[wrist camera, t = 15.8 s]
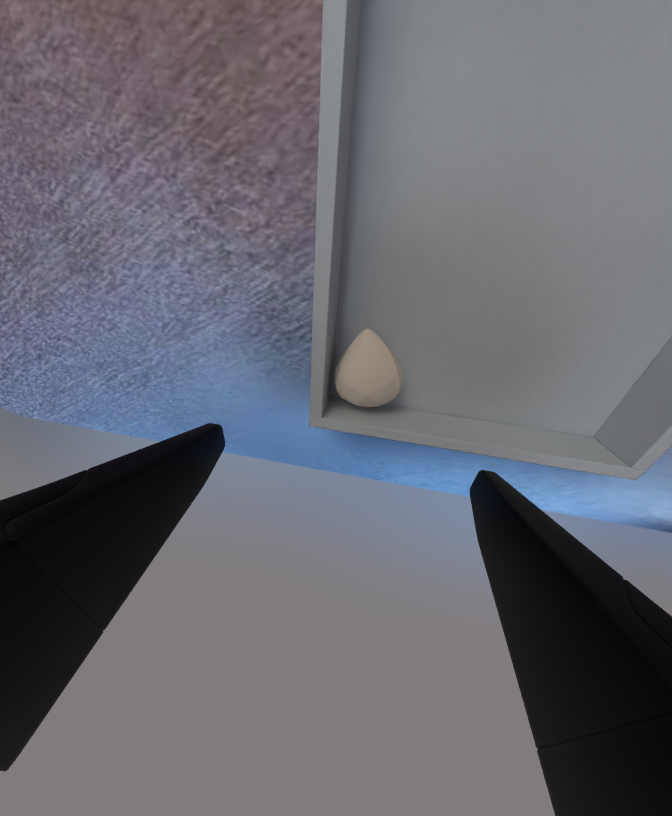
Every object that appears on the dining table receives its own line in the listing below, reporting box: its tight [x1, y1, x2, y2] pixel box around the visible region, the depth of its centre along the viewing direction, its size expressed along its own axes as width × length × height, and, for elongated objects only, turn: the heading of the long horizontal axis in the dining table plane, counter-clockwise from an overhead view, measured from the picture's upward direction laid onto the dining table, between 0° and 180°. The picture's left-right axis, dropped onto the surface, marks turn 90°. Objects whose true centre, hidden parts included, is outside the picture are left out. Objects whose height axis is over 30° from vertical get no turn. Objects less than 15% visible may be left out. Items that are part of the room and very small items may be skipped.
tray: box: [309, 0, 672, 480], centre depth 11 cm, size 24×20×4 cm
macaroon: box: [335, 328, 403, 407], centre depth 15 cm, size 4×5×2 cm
